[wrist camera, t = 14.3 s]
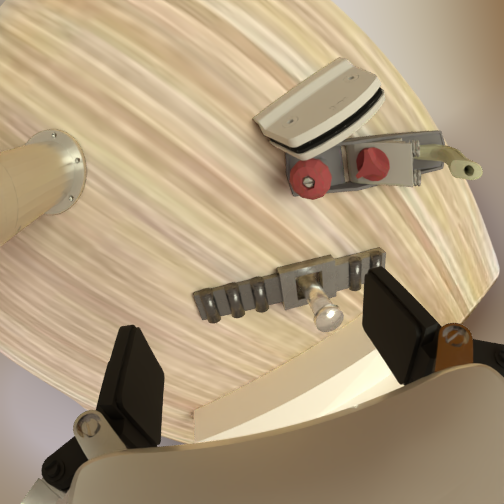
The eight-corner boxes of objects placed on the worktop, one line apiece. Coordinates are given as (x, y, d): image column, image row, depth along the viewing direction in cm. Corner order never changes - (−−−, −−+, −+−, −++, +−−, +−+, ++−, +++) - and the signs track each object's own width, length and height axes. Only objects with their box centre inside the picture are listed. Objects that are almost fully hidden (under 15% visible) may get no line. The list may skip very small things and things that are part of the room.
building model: (369, 306, 53) (393, 336, 45) (395, 357, 63) (412, 383, 54) (193, 409, 59) (194, 442, 51) (248, 438, 69) (253, 466, 60)
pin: (293, 272, 46) (315, 313, 37) (316, 266, 47) (343, 305, 37) (295, 292, 48) (316, 335, 38) (317, 286, 48) (343, 327, 39)
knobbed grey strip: (203, 321, 48) (204, 332, 45) (192, 287, 45) (191, 298, 42) (378, 276, 50) (386, 285, 47) (380, 242, 47) (389, 249, 44)
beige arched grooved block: (341, 56, 33) (390, 67, 26) (353, 81, 36) (401, 98, 29) (250, 119, 35) (284, 144, 28) (268, 144, 39) (304, 173, 32)
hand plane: (443, 167, 43) (504, 191, 29) (284, 197, 41) (322, 237, 28) (441, 130, 39) (506, 144, 26) (275, 150, 38) (314, 167, 25)
